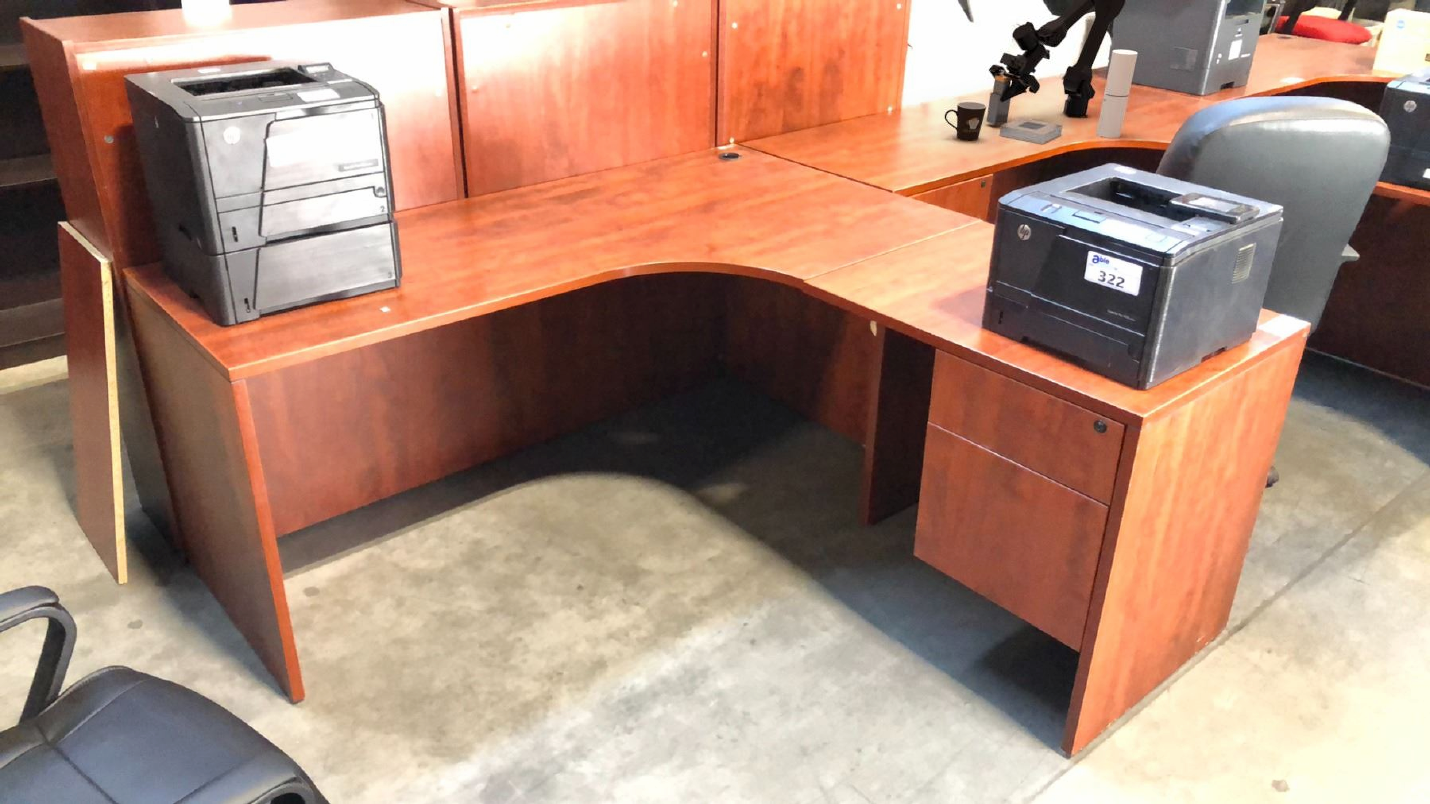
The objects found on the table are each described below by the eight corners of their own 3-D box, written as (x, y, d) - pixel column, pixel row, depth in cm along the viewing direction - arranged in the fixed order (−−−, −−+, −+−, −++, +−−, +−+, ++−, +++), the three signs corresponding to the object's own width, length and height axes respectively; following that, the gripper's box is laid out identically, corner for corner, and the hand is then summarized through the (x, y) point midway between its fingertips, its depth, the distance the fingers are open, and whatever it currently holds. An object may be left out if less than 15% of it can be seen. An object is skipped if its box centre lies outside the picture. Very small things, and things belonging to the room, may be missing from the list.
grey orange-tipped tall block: (998, 119, 334) (1005, 75, 327) (1007, 122, 331) (1013, 77, 324) (986, 121, 332) (992, 76, 325) (994, 124, 329) (1001, 79, 322)
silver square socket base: (1019, 126, 331) (1020, 117, 330) (1061, 135, 324) (1062, 125, 322) (999, 135, 322) (1000, 125, 320) (1041, 144, 314) (1043, 134, 313)
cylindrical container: (1108, 139, 321) (1125, 55, 308) (1091, 133, 326) (1107, 50, 314) (1125, 136, 324) (1142, 53, 311) (1108, 130, 329) (1124, 48, 317)
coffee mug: (983, 136, 321) (988, 103, 316) (979, 143, 314) (984, 110, 309) (945, 132, 324) (949, 99, 319) (941, 139, 317) (945, 106, 312)
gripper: (997, 37, 329) (965, 76, 330) (1039, 48, 314) (1005, 89, 315) (1013, 61, 336) (981, 99, 337) (1054, 73, 321) (1021, 112, 322)
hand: (996, 99), depth 328 cm, fingers closed on grey orange-tipped tall block, 4 cm apart
